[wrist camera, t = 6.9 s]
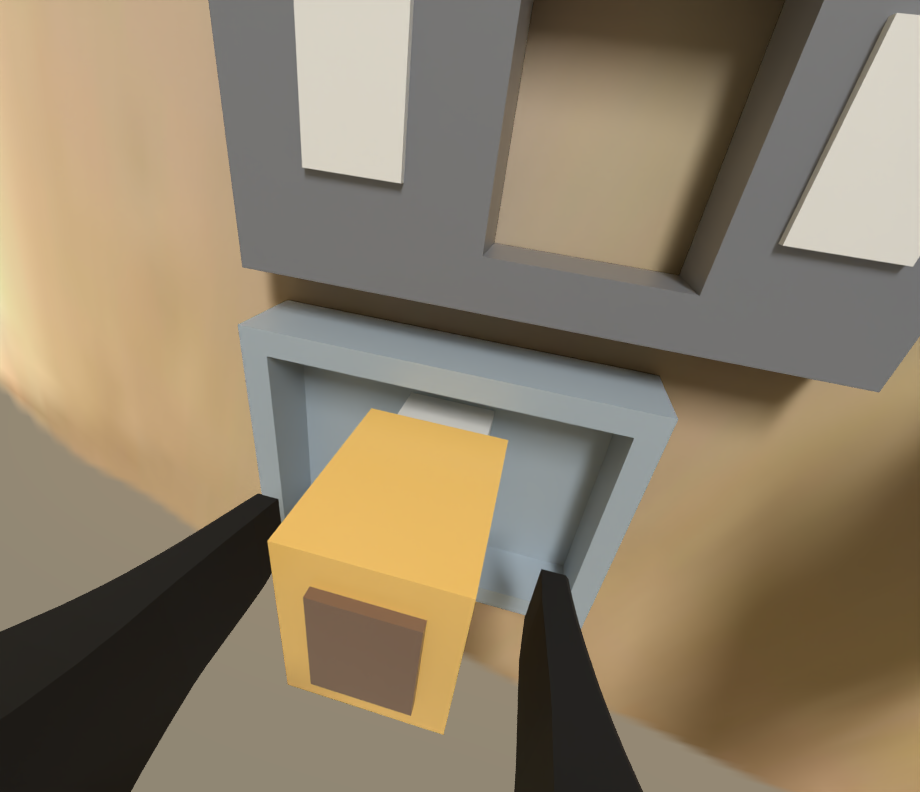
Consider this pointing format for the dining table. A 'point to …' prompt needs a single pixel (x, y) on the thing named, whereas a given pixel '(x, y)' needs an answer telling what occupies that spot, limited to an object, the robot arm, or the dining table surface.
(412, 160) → the panel
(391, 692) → the block
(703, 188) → the dining table surface
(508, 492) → the parts tray
